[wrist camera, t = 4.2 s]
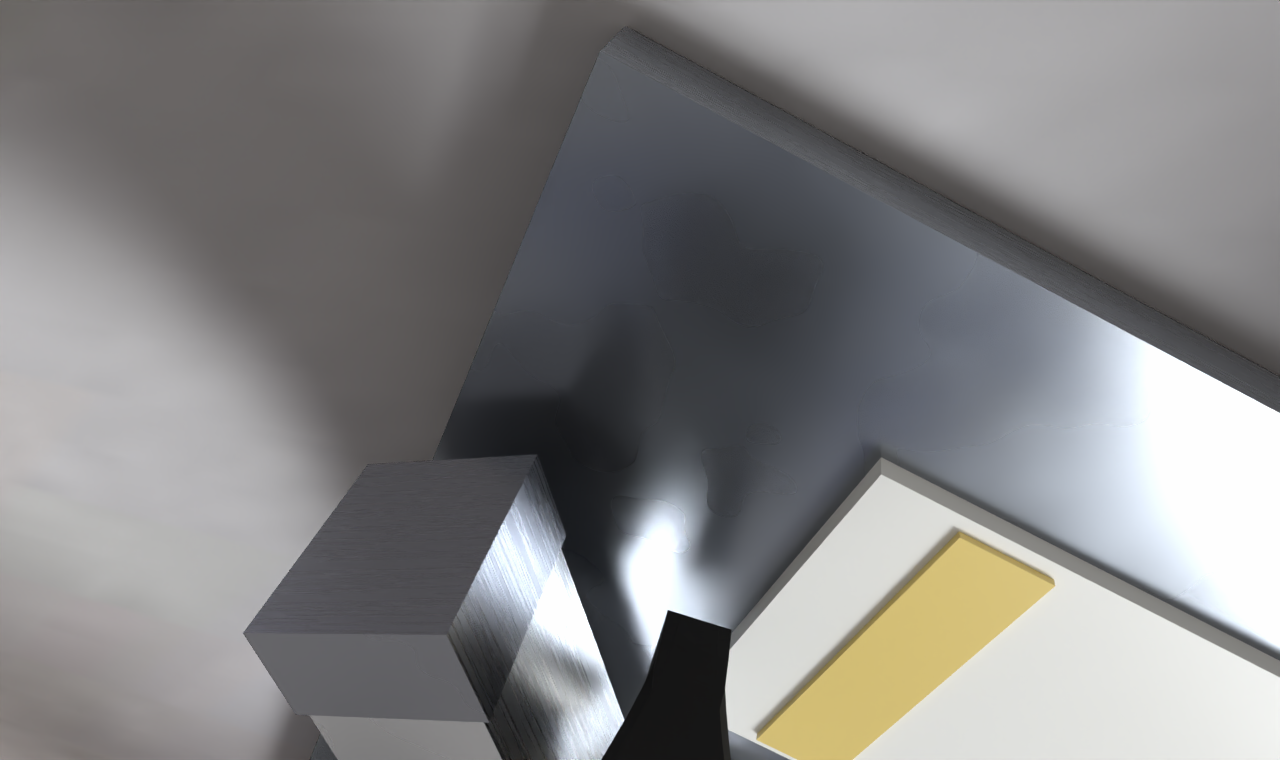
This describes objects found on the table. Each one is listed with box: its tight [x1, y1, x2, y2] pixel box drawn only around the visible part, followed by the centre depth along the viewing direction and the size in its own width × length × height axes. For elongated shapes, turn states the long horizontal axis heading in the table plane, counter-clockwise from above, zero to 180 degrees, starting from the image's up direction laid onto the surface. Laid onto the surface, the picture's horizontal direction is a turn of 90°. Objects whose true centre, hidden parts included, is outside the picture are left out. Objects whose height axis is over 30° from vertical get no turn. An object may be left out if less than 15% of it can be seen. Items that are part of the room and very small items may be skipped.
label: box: [725, 457, 1280, 760], centre depth 11 cm, size 5×9×1 cm, turn 66°
